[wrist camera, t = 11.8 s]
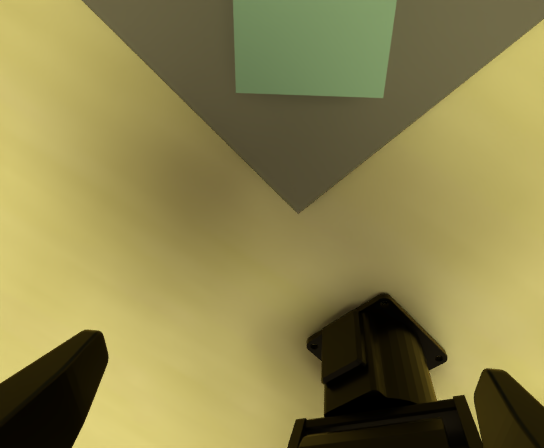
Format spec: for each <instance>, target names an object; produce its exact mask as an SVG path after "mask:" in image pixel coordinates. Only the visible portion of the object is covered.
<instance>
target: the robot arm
mask: <svg viewBox="0 0 544 448" xmlns="http://www.w3.org/2000/svg"><path fill="white" fill-rule="evenodd" d="M384 301H385V302H387V303H385V304H382V303H381V302H384ZM313 344H317V345H313ZM307 349H308V350H309V351H310V352H311V353H313V354H314V355H315V356H316V357H317V358H318V359H320V360H321V361H322V371H321V381H322V383H323V384H324V417H323V418H316V419H309V420H307V419H306V418H303V419H296V421H295V424H294V428H293V431H292V434H291V437H290V440H289V444H288V447H287V448H544V406H542V405H541V404H540V403H539V402H538V401H537V400H536V399H535V398H534V397H533V396H532V395H531V394H530V393H529V392H528V391H526V390H525V389H524V388H523V387H522V386H521V385H520V384H519V383H518V382H517V381H516V380H515V379H514V378H513V377H511V376H510V375H509V374H508V373H507V372H506V371H504V370H500V369H489V368H486V369H484V370H483V371H482V373H481V376H480V379H479V381H478V384H477V387H476V390H475V393H474V404H475V409H476V414H477V419H478V424H479V429H480V434H481V438H482V441H481V438H480V436H479V433H478V430H477V428H476V425H475V422H474V420H473V417H472V414H471V412H470V409H469V406H468V404H467V401H466V398H465V396H464V395H460V396H453V399H447V400H440V401H437V399H436V395H435V392H434V388H433V384H432V381H431V377H430V373H429V370H431V369H433V368H435V367H437V366H439V365H441V364H443V363H445V362H446V361H447V354H446V352H445V350H444V349H443V348H442V347H441V346H440V345H439V344H438V343H437V342H436V341H435V340H434V339H433V338H432V337H431V336H430V335H429V334H428V333H427V332H426V331H425V330H424V329H423V328H422V327H421V326H420V325H419V324H418V323H417V322H416V321H415V320H414V319H413V318H412V317H411V316H410V315H409V314H408V313H407V312H406V311H405V310H404V309H403V308H402V307H401V306H400V305H399V304H398V303H397V302H396V301H395V300H394V299H393V298H392V297H391V296H389V295H387V294H380V295H378V296H376V297H375V298H373V299H372V300H370V301H368V302H367V303H365V304H363V305H362V306H360V307H358V308H357V309H355V310H352V311H350V312H349V313H347V314H346V315H344V316H342V317H341V318H339V319H337V320H336V321H334V322H333V323H331V324H329V325H328V326H326V327H324V328H323V330H321V331H319V332H318V333H316V334H314V335H313V336H311V337H309V338H308V339H307ZM436 356H438V357H436ZM107 363H108V351H107V347H106V343H105V339H104V336H103V333H102V332H101V331H97V330H83V331H81V332H80V333H78V334H77V335H75V336H73V337H72V338H70V339H69V340H67V341H66V342H64V343H63V344H61V345H59V346H58V347H56V348H55V349H53V350H52V351H50V352H49V353H47V354H45V355H44V356H42V357H41V358H39V359H38V360H36V361H34V362H33V363H31V364H30V365H28V366H27V367H25V368H24V369H22V370H20V371H19V372H17V373H16V374H14V375H13V376H11V377H10V378H8V379H6V380H5V381H3V382H2V383H0V448H72V446H73V444H74V442H75V440H76V438H77V436H78V434H79V432H80V430H81V428H82V426H83V424H84V422H85V419H86V417H87V415H88V412H89V410H90V407H91V405H92V402H93V400H94V397H95V394H96V392H97V389H98V387H99V384H100V382H101V379H102V377H103V374H104V371H105V369H106V366H107Z"/></svg>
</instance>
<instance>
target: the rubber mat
mask: <svg viewBox="0 0 544 448" xmlns="http://www.w3.org/2000/svg"><path fill="white" fill-rule="evenodd" d="M82 1H83V2H84V3H85V4H86V5H87V6H88V7H89V8H90V9H91V10H92V11H93V12H94V13H95V14H96V15H97V16H98V17H99V18H100V19H101V20H102V21H103V22H104V23H105V24H106V25H107V26H108V27H109V28H111V29H112V30H113V31H114V32H115V33H116V34H117V35H118V36H119V37H120V38H121V39H122V40H123V41H124V42H125V43H126V44H127V45H128V46H129V47H130V48H131V49H132V50H133V51H134V52H135V53H136V54H137V55H138V56H139V57H140V58H141V59H142V60H143V61H144V62H145V63H146V64H147V65H148V66H149V67H150V68H151V69H152V70H153V71H154V72H155V73H156V74H157V75H158V76H159V77H160V78H161V79H162V80H163V81H164V82H165V83H166V84H167V85H168V86H169V87H170V88H171V89H172V90H173V91H174V92H175V93H176V94H177V95H178V96H179V97H180V98H181V99H182V100H183V101H184V102H185V103H186V104H187V105H188V106H189V107H190V108H191V109H192V110H193V111H194V112H195V113H196V114H198V115H199V116H200V117H201V118H202V119H203V120H204V121H205V122H206V123H207V124H208V125H209V126H210V127H211V128H212V129H213V130H214V131H215V132H216V133H217V134H218V135H219V136H220V137H221V138H222V139H223V140H224V141H225V142H226V143H227V144H228V145H229V146H230V147H231V148H232V149H233V150H234V151H235V152H236V153H237V154H238V155H239V156H240V157H241V158H242V159H243V160H244V161H245V162H246V163H247V164H248V165H249V166H250V167H251V168H252V169H253V170H254V171H255V172H256V173H257V174H258V175H259V176H260V177H261V178H262V179H263V180H264V181H265V182H266V183H267V184H268V185H269V186H270V187H271V188H272V189H273V190H274V191H275V192H276V193H277V194H278V195H279V196H280V197H281V198H282V199H283V200H284V201H286V202H287V203H288V204H289V205H290V206H291V207H292V208H293V209H294V210H295V211H296V212H297V213H298V214H299V213H300V212H301V211H303V210H304V209H305V208H306V207H308V206H309V205H310V204H311V203H313V202H314V201H315V200H316V199H318V198H319V197H320V196H321V195H323V194H324V193H325V192H327V191H328V190H329V189H330V188H332V187H333V186H334V185H335V184H337V183H338V182H339V181H340V180H342V179H343V178H344V177H345V176H347V175H348V174H349V173H350V172H352V171H353V170H354V169H355V168H357V167H358V166H359V165H361V164H362V163H363V162H364V161H366V160H367V159H368V158H369V157H371V156H372V155H373V154H374V153H376V152H377V151H378V150H379V149H381V148H382V147H383V146H384V145H386V144H387V143H388V142H389V141H391V140H392V139H393V138H395V137H396V136H397V135H398V134H400V133H401V132H402V131H403V130H405V129H406V128H407V127H408V126H410V125H411V124H412V123H413V122H415V121H416V120H417V119H418V118H420V117H421V116H422V115H423V114H425V113H426V112H427V111H429V110H430V109H431V108H432V107H434V106H435V105H436V104H437V103H439V102H440V101H441V100H442V99H444V98H445V97H446V96H447V95H449V94H450V93H451V92H452V91H454V90H455V89H456V88H457V87H459V86H460V85H461V84H463V83H464V82H465V81H466V80H468V79H469V78H470V77H471V76H473V75H474V74H475V73H476V72H478V71H479V70H480V69H481V68H483V67H484V66H485V65H486V64H488V63H489V62H490V61H491V60H493V59H494V58H495V57H496V56H498V55H499V54H500V53H502V52H503V51H504V50H505V49H507V48H508V47H509V46H510V45H512V44H513V43H514V42H515V41H517V40H518V39H519V38H520V37H522V36H523V35H524V34H525V33H527V32H528V31H529V30H530V29H532V28H533V27H534V26H536V25H537V24H538V23H539V22H541V21H542V20H543V19H544V0H397V2H396V10H395V17H394V24H393V31H392V38H391V45H390V53H389V60H388V67H387V74H386V81H385V88H384V96H383V98H368V97H339V96H311V95H282V94H254V93H236V80H235V48H234V17H233V0H82Z"/></svg>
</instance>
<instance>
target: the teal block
mask: <svg viewBox="0 0 544 448" xmlns="http://www.w3.org/2000/svg"><path fill="white" fill-rule="evenodd" d="M396 2H397V0H233V17H234V48H235V80H236V93H254V94H282V95H311V96H339V97H368V98H383V96H384V88H385V81H386V74H387V67H388V60H389V53H390V45H391V38H392V31H393V24H394V17H395V10H396Z"/></svg>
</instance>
